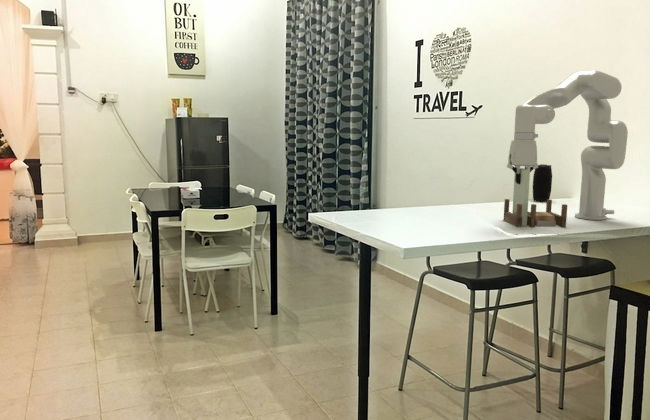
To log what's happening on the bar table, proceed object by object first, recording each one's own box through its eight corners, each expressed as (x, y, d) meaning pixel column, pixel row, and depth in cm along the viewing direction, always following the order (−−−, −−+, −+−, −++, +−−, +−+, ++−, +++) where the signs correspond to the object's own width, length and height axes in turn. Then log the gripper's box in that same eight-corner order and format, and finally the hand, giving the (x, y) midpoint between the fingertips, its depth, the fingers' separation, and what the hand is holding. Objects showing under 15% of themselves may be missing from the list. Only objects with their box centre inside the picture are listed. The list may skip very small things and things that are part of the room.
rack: (548, 223, 233) (550, 199, 231) (565, 230, 217) (567, 204, 216) (503, 222, 233) (504, 199, 231) (516, 230, 217) (518, 204, 215)
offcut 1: (545, 216, 229) (546, 211, 229) (554, 221, 219) (554, 215, 219) (527, 216, 230) (527, 211, 229) (534, 220, 220) (535, 215, 219)
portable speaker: (553, 202, 296) (556, 165, 293) (536, 202, 295) (538, 165, 292) (545, 200, 304) (547, 164, 301) (528, 200, 303) (531, 164, 300)
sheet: (516, 221, 230) (519, 167, 227) (526, 226, 219) (530, 169, 216) (512, 221, 230) (514, 167, 227) (521, 226, 219) (524, 169, 216)
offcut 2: (544, 221, 230) (544, 216, 229) (555, 225, 220) (555, 220, 219) (526, 221, 229) (526, 216, 229) (536, 226, 219) (537, 221, 219)
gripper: (540, 136, 223) (537, 182, 226) (501, 136, 223) (498, 182, 226) (548, 137, 216) (545, 184, 219) (507, 137, 216) (504, 184, 218)
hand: (521, 183), depth 222 cm, fingers closed on sheet, 2 cm apart
